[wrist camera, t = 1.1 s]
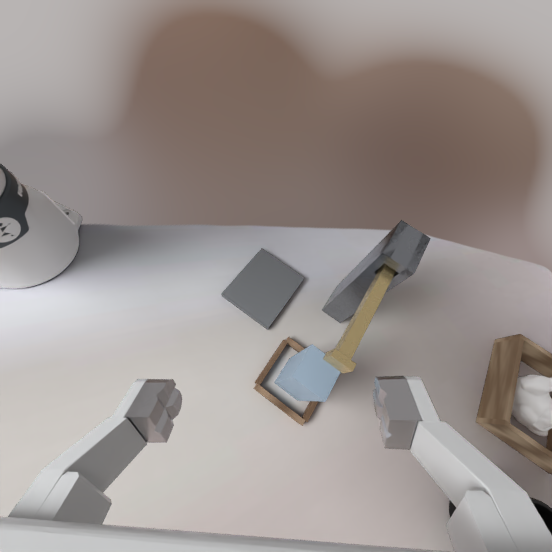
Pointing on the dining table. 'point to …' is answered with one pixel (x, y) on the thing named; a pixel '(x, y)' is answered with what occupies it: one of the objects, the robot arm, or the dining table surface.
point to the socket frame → (273, 399)
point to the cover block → (308, 376)
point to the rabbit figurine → (533, 403)
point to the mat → (263, 288)
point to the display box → (502, 392)
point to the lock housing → (391, 251)
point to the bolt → (360, 322)
